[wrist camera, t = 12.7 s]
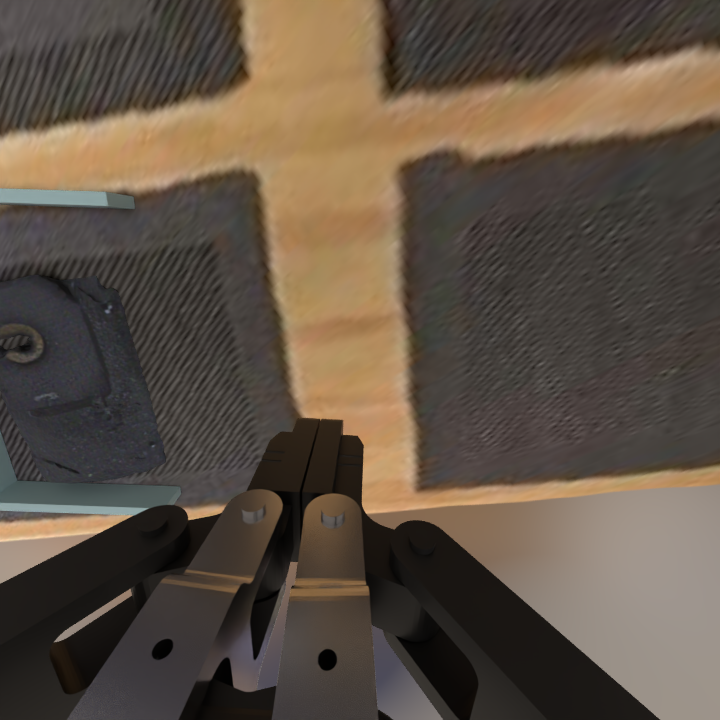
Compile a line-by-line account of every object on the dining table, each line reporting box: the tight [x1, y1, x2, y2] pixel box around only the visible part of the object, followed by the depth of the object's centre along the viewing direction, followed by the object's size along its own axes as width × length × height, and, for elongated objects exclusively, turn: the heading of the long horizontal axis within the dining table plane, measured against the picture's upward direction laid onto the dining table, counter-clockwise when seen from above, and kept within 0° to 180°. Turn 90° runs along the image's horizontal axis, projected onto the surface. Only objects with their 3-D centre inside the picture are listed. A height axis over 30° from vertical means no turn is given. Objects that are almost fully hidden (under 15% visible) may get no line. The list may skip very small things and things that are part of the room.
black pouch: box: [0, 275, 166, 483], centre depth 35 cm, size 15×22×5 cm
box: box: [0, 188, 181, 515], centre depth 34 cm, size 31×20×4 cm, turn 178°
